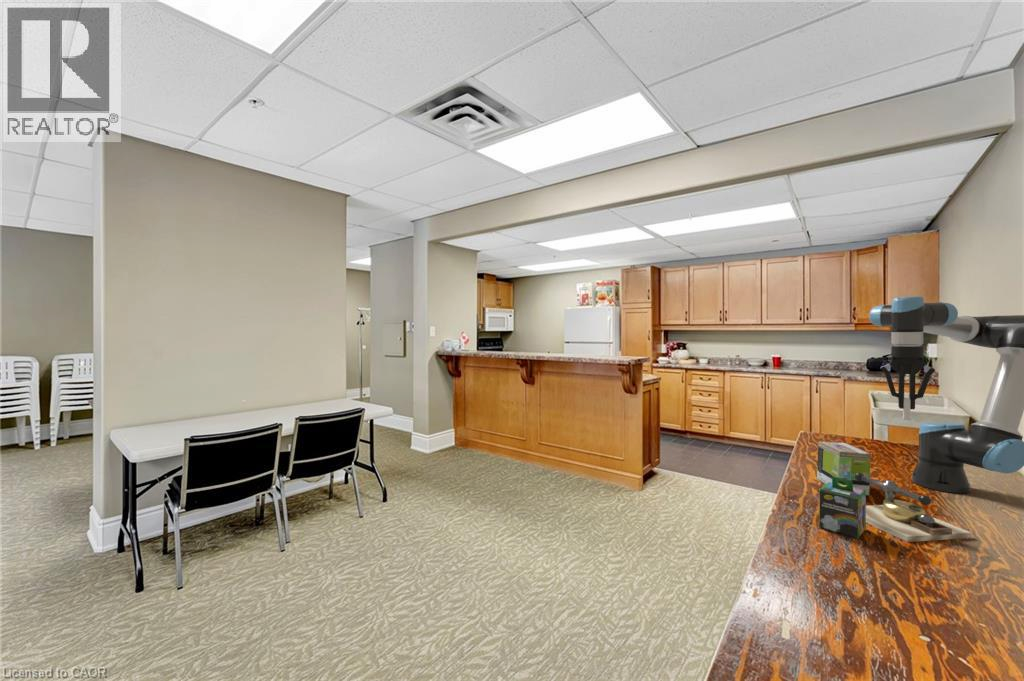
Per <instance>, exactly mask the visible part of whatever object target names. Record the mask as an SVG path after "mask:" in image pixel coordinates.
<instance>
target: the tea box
mask: <svg viewBox="0 0 1024 681" xmlns="http://www.w3.org/2000/svg"><path fill="white" fill-rule="evenodd" d="M871 460H872V459H871V453H870V452H867V451H865V450H863V449H861V448H859V447H856V446H853V445H852V444H849V443H847V442H833V441H818V442H817V467H816V468H817V470H816V476H817V477H816V479H817V480H819V481H820V482H822V483H823V484H824V485H825V484H827V483H828V482H831V483H832V477H839V478H843V479H848V480H851V481H852V482H853V487H856V488H860V489H865V490H866V496H869V495H870V485H871V484H870V483H868V482H865V481H858V480H856V479H855V477H854V476H855V474H856V473H862V474H863V475H864V476H866V477H869V478H871ZM838 484H841V485H846V486H847V484H846V483H845V482H842V481H839V482H838Z"/></svg>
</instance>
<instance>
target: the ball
mask: <svg viewBox="0 0 1024 681" xmlns="http://www.w3.org/2000/svg"><path fill="white" fill-rule="evenodd" d="M934 518H935V517H933V516H932V515H930V514H927V513H925V514H921V515H919V516H918V522H919V523H920V524H923V525H925V526H927V527H933V526H934V525H935V520H934Z"/></svg>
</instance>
